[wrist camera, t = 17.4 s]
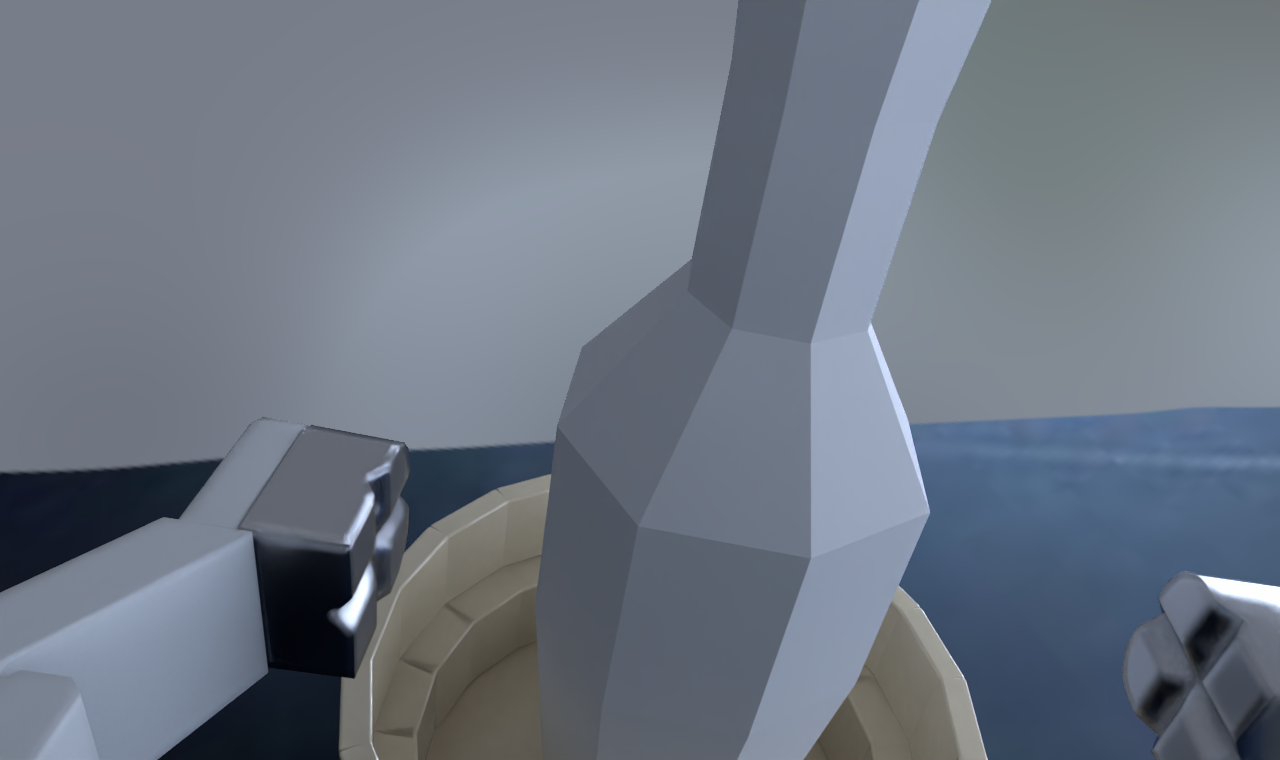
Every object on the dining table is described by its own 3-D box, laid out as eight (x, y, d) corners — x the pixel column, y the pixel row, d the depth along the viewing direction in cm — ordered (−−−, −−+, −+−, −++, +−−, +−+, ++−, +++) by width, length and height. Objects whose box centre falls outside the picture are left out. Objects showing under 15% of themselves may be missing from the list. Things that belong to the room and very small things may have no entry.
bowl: (243, 1100, 17) (210, 956, 14) (435, 575, 28) (441, 431, 25) (955, 1209, 17) (1079, 1091, 14) (863, 645, 28) (921, 511, 25)
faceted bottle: (814, 919, 20) (1456, -347, 8) (525, 969, 18) (780, -540, 6) (728, 678, 25) (1039, -318, 13) (495, 701, 23) (605, -420, 11)
